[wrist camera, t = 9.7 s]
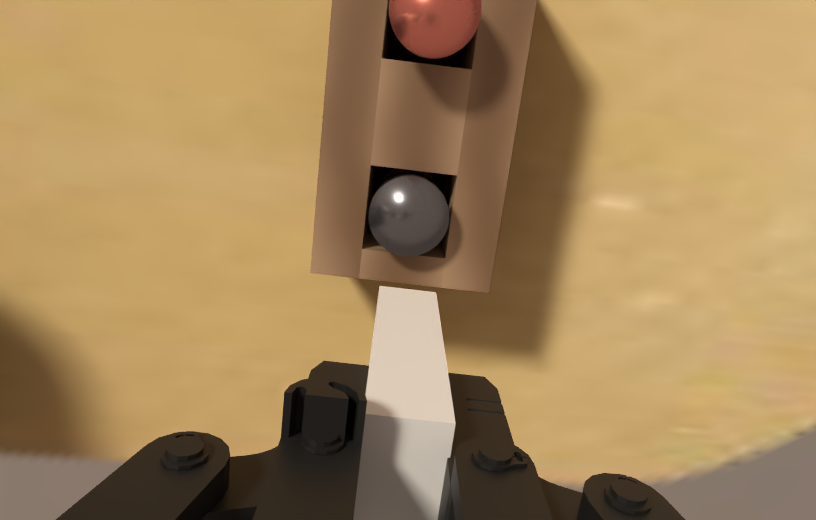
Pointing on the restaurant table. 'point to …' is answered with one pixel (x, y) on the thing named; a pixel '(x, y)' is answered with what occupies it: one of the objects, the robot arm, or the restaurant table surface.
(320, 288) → the restaurant table surface
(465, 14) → the plug red
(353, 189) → the block
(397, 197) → the plug grey
